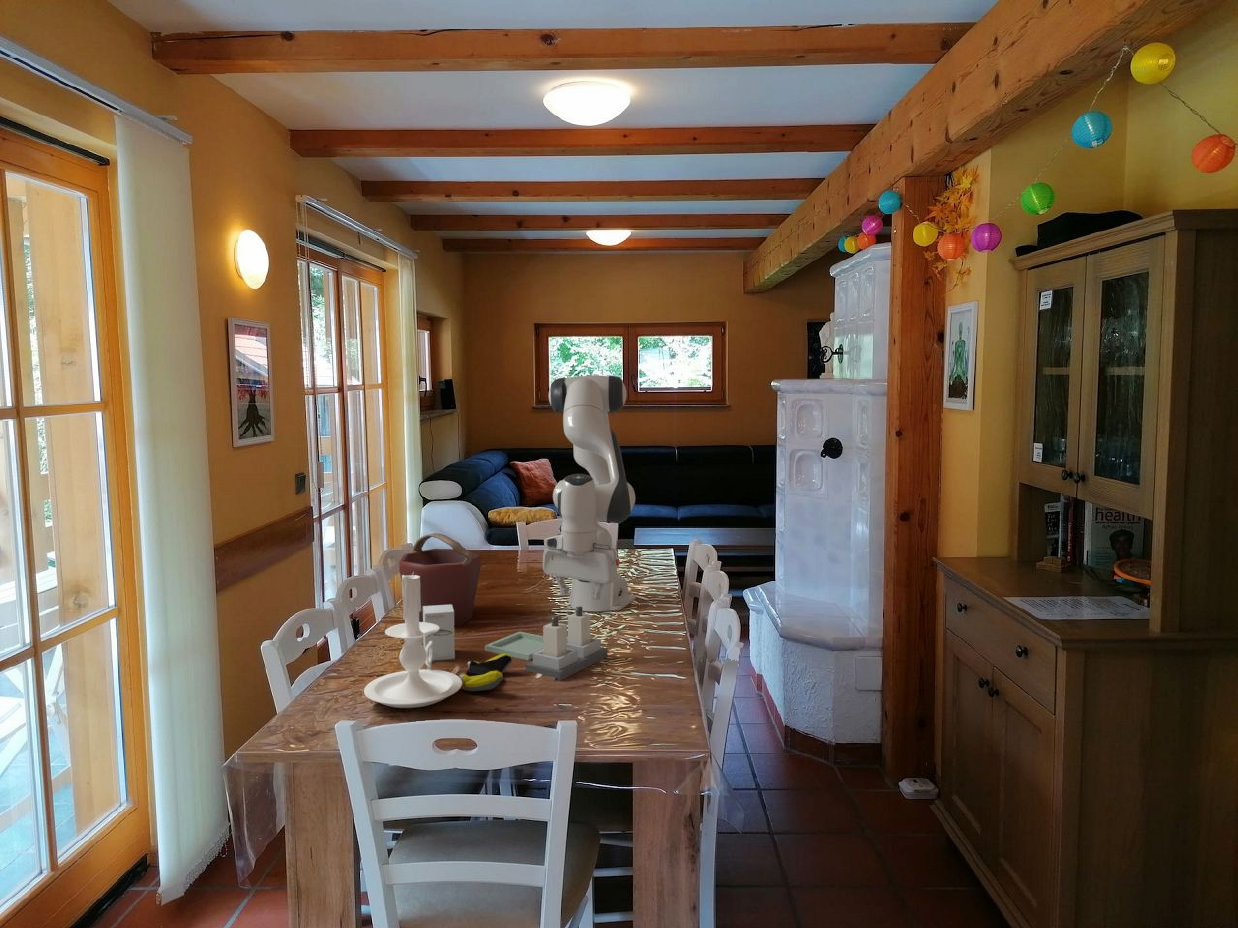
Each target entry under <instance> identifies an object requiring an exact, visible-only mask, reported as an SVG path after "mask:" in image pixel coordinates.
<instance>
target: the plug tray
mask: <svg viewBox="0 0 1238 928" xmlns="http://www.w3.org/2000/svg"><path fill="white" fill-rule="evenodd" d="M542 649H543V635H538V634H534V633H533V634H532V633H529V632H523V631H517V632H515V633H513V634H510V635H508V636H506V637H502V638H501V639H498V640H495V641H493V642H490V643H488V644H486V645H484V651H485V652H491V653H495V654H498V655H500V654H505V653H507V654H509V655H510V656H511V658H517V659H521V660H526V661H530V660H533V653H536V652H538V651H540V650H542Z"/></svg>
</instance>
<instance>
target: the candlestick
mask: <svg viewBox="0 0 1238 928" xmlns="http://www.w3.org/2000/svg"><path fill="white" fill-rule="evenodd" d="M413 573H414V572H413ZM401 584H402V585H401V586H402V587H401V588H402V589H401V590H402V592H401V593H402V594H401V595H402V601H403V605H402V606H403V615H402V618H403V619H404V623H398V624H395V625H392V626H389V627H387V628H386V629H385V631H384V635H387V636H388V637H392V638H395V639H397V638H398V639H403V641H404V644H403V646H402V648H401V650H400V653H399V655H398V656H399V658H398V659H399V662H400V664H401V666H402V667H403V668H404V669H405V670H402V671H396V672H392V673H388V674H386V675H385V674H384V675H382V676H379V677H378V678H375V679H374V680H372V681H370V682H369V683H368V684H366V686H365V687H364V689H363V693H364V696H365V697H367V698H368V699H369V700H371V701H373V702H375V703H376V702H377V703H380V704H381V705H385V706H388V707H390V708H391V707H392V708H397V709H398V708H399V709H414V708H415V709H416V708H422V707H427V706H430V705H434V704H436V703H439V702H441V701H443V700H445V699H447V698H448V697H450V696H452V695H454V694H455V693H457V692H458V691H459V690H460V689H461V686H462V680H461V677H460V676H459V675H456V674H455V673H452V672H451V671H450V672H449V671H446V670H439V669H432V663H433V662H432V657H433V648H432V644H433V641H429V643H428V645H427V646H426V648H424V644H423V643H422V641H421V640H422V639H423V637H424V636H428V635H431V634H434V633H436V632H437V631H438V630H439V629H440V628H439V626H438V625H436V624H433V623H427V622H419V612H420V611H421V600H420V576H417V575H413V574H412V575H407V576H405V575H402V581H401ZM428 652H429V658H428ZM424 665H426V669H425V668H424V669H422V668H423V666H424Z"/></svg>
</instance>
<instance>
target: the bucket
mask: <svg viewBox="0 0 1238 928" xmlns="http://www.w3.org/2000/svg"><path fill="white" fill-rule="evenodd" d="M430 538H434V539H435V538H436V539H438V540H439V541H442V542H444V543H445V544H447V545H448V546H450V549H449V548H447V549H445V548H433V549H425V550H423V549H422V548H423V547H424V545H425V544H426V541H428V540H430ZM481 557H482V556H481V555H480V554H477V553H476V552H473V551H472V550H469V549H467V548H465V547H464V546H462V544H461V543H460V542H458V541H457V540H455V539H453V538H452V537H450V536H447V535H445V534H442V533H437V532H435V533H429V534H428V533H427V534H425V535H423V536H421V537H419V538H418V539H417V540H416V541H415V543H414V545H413V546H412V552H409V553H408V552H407V553H404V554H403V555H402V557H401V558H400V559H399V561H398V565H399V567H398V568H399V569H398V570H399V571H398V572H399V576H400V579H401V580H400V581H401V582H402V575H405V576H407V575H412V574H413V575H417V576H420V600H421V611H420V612H419V622H423V606H435V605H451V604H452V605H453V610H454V626H456V627H459V626H461V625H463V624H465V623H466V621H467V620H469V619H471V620H472V617H473V612H474V605H475V601H476V595H477V594H476V593H477V588H478V584H479V580H480V579H479V578H480V573H481V567H482V565H481V564H482V562H481V561H482V559H481ZM413 572H414V573H413ZM469 621H470V620H469ZM464 622H465V623H464ZM467 622H468V621H467ZM462 623H463V624H462ZM460 624H461V625H460ZM458 625H459V626H458Z"/></svg>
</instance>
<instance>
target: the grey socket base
mask: <svg viewBox="0 0 1238 928" xmlns="http://www.w3.org/2000/svg"><path fill="white" fill-rule="evenodd" d="M542 633H543V634H542V636H543V649H542V650H540V651H538V652H536V653H533V658H532V661H530V662H528V663H526V664H525V671H526V672H529V673H530V672H531V673H535V674H538V675H542V676H548V677H550V678H554V679H555V680H554V681H558V680H559V682H560V681H563V680H565V679H567V678H569V677H570V676H573V675H574V674H577V673H578V672H580V671H582V670H584V669H586V668H588V667H591V666H592V665H593V664H595V663H598V662H600V661H602V660H604V659H605V658H607V657H608V648H605V647H602V645H601V644H602V641H601V639H600V638H595V637H591V643H589V644H586V645H584V646H578V645H574V644H569V643H568V624H566V623H559V616H556V615H553V616H551V622H550V623H547V624H545V625H543V626H542Z"/></svg>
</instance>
